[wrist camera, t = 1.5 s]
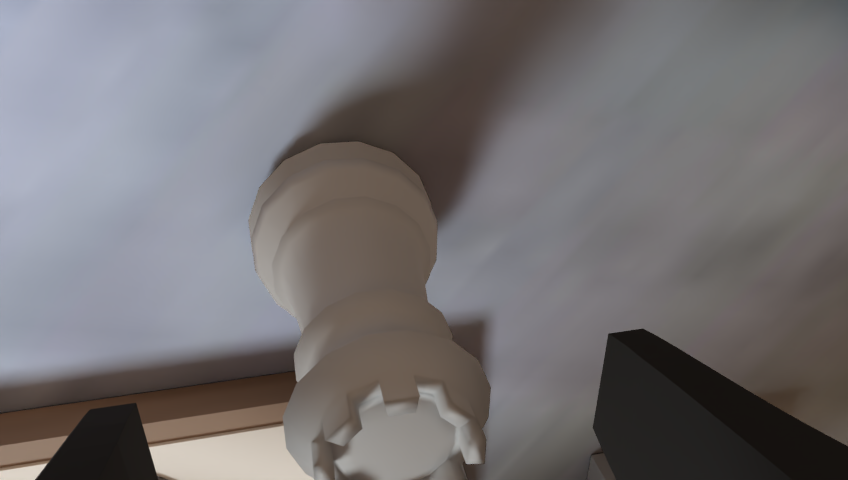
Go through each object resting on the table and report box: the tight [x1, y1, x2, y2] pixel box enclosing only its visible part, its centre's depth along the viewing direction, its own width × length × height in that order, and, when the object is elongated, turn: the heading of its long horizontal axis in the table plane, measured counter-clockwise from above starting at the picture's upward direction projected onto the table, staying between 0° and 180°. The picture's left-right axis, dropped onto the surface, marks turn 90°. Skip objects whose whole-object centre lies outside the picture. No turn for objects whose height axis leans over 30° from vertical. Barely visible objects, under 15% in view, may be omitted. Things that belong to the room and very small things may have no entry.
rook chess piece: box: [248, 141, 491, 480], centre depth 13 cm, size 4×4×8 cm
